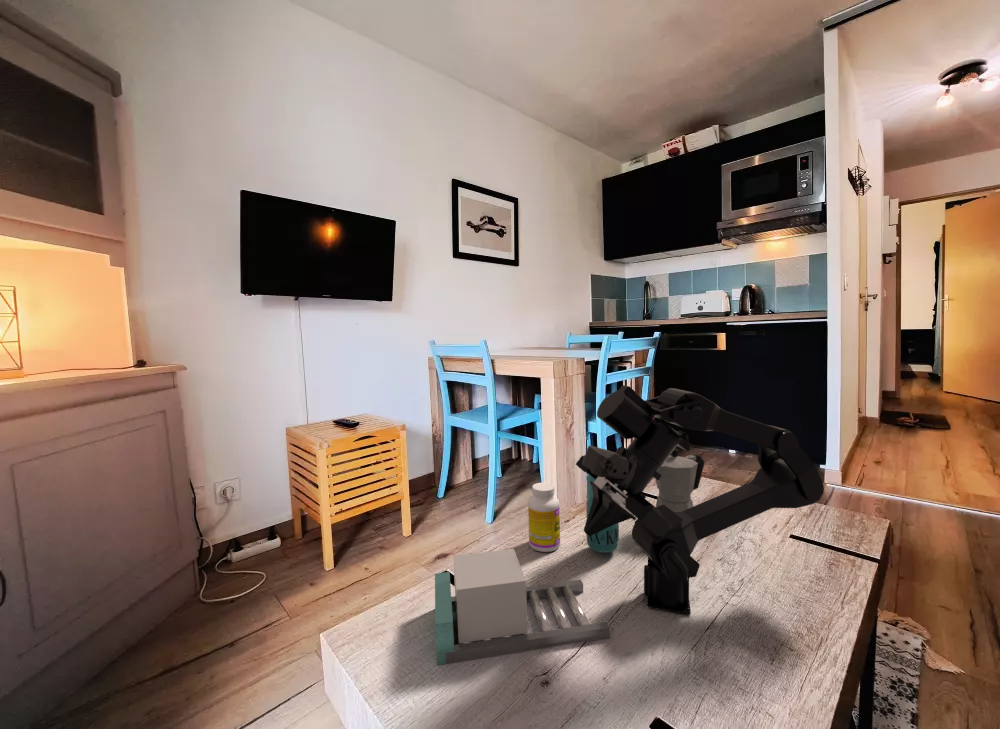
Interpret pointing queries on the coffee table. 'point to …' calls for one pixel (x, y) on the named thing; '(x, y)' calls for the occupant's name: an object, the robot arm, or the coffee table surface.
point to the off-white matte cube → (489, 595)
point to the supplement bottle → (544, 518)
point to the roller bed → (520, 642)
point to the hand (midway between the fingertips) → (586, 533)
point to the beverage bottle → (604, 538)
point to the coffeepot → (679, 481)
